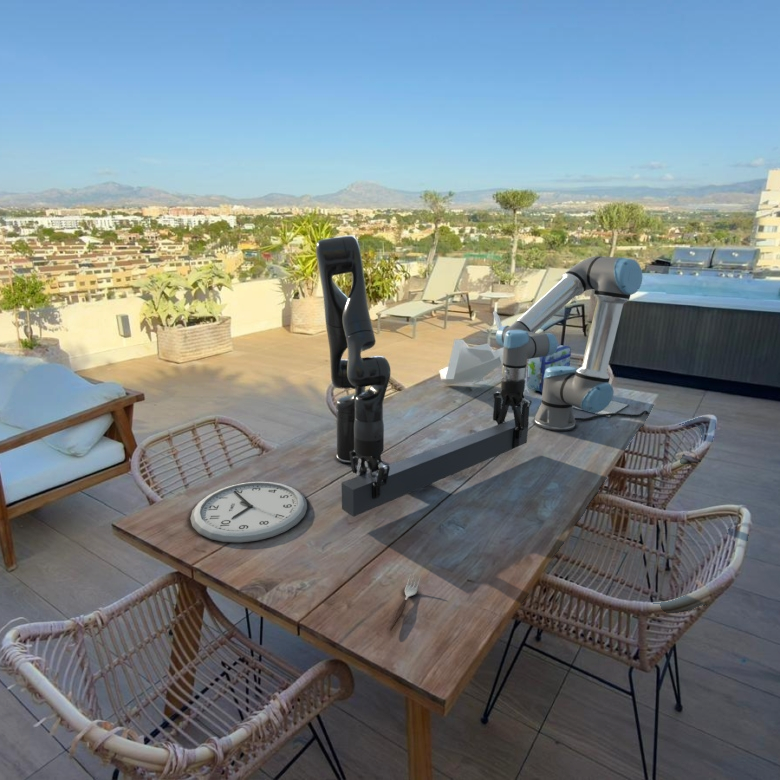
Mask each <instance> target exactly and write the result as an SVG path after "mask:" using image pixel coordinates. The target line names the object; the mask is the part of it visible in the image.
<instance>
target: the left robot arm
mask: <svg viewBox="0 0 780 780" xmlns="http://www.w3.org/2000/svg"><path fill="white" fill-rule="evenodd" d="M315 245H316V246H315V255H316V264H317V269H318V273H319V279H320V285H321V291H322V297H323V307H324V308H323V309H324V319H325V327H326V333H327V334H326V335H327V339H328V340H327V341H328V346H329V360H330V363H329V364H330V379H331V384H332V386H333V387H334V388H336V389H339V390H340V389H342V390H343V389H344V390H355V391H353V392H351V393H350V394H347V395H344V396H342V397H340V398H338V399H337V400H336V404H335V405H336V408H335V409H336V460H337V461H338V462H340V463H342V464H350V466H351V472H352V474H355V477H358V476H360V475H363V474H366V473H368V477H369V478H370V479H371V482H372V498H373V499H376V498H379V497H380V487H381V486H383V485H386V484H387V479H388V474H389V469H390V467H389V465H390V464H386V465H385V464H384V463H383V460H382V457H381V456H382V453H383V452H384V447H385V446H384V445H385V444H384V443H385V441H384V440H385V436H384V435H385V425H384V401H385V396H386V392H387V389H388V386H389V383H390V378H391V372H392V371H391V365H390V363H389V360H388V359H387V358H386V357H385V356H382V355H375V356H367V357H366V356H365V357H362V352H365V351H368V350H370V349H371V348H374V346H375V345H376V340H377V339H376V335H375V332H374V327H373V324H372V319H371V315H370V310H369V304H368V295H367V288H366V287H367V286H366V279H365V272H364V265H363V259H362V258H363V257H362V252H361V249H360V245H359V242H358V240H357V238H356V237H355V236H353V235H343V236H342V235H341V236H335V237H329V238H324V239H323V238H322V239H320V240H318V241H317V242H316V244H315ZM344 274H345V275H346V274H351V287H350V291H349V294H348V296H347V295H346V294H345V293H344V292H343V291H342V290H341V288H339V286H338V285H337V284H336V282H335V280H334V278H333V277H334V276H339V275H344ZM346 350H347V359H346V358H345V359H343V358H342V357H343V356H344V353H345V352H346ZM366 387H369V389H368V390H366ZM375 471H377V472H376V473H374V474H372V473H373V472H375ZM375 477H377V481H375Z"/></svg>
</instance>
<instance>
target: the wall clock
mask: <svg viewBox="0 0 780 780" xmlns="http://www.w3.org/2000/svg"><path fill="white" fill-rule="evenodd" d="M307 503H308V502H307V499H306V498H305V496H304V495H303V493H301V492H300V491H298V490H297V489H295V488H294V487H291V486H289V485H286V484H283V483H280V482H279V483H278V482H272V481H249V482H248V481H247V482H242V483H238V484H232V485H229V486H226V487H223V488H220V489H218V490H216V491H213V492H211V493H210V494H208V495H207V496H205V497H204V498H202V499H201V500H200V501H199V502H198V503H197V504H196V505H195V507H194V508H193V509H192V511H191V515H190V523H191V526H192V528H193V529H194V531H196V532H197V533H198V534H199V535H201V536H203V537H205V538H208V539H210V540H214V541H218V542H222V543H239V544H240V543H249V542H256V541H262V540H265V539H269V538H274V537H276V536H278V535H280V534H282V533H286V532H287V531H289V530H290V529H292V528H293V527H295V526H296V525H298V524H299V523H300V522H301V521H302V519H303V518H304V517H305V516H306V513H307V510H308V504H307Z"/></svg>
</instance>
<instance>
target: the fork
mask: <svg viewBox="0 0 780 780" xmlns="http://www.w3.org/2000/svg"><path fill="white" fill-rule="evenodd" d="M421 576H422V575H421V574H420V575H419V578H418V576H416V577H415V574H413V577H412V573H410V574H409V578H408V579H407V580H408V581H407V582H406V586H405V588H404V594H405V598H404V600H403V601H402V602H401V604H400V605H399V607H398V608H397V610H396V612H395V614H394V615H395V616H394V618H393V621H392V623H391V627H390V629H389V631H390V632H391V631H392V630H393V628H394V627H395V625H396V624H397V622H398V621H399V619H400V618H401V616H402V615H403V613H404V610H405V608H406V605H407V601H408V599H409V598H410V597H413V596H415V595H417V592H418V590H419V585H420V580H421ZM411 577H412V579H411ZM414 577H415V580H414ZM417 579H418V581H417ZM416 584H417V585H416Z"/></svg>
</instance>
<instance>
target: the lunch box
mask: <svg viewBox="0 0 780 780" xmlns="http://www.w3.org/2000/svg"><path fill="white" fill-rule="evenodd" d="M571 350H572V349H571V347H570V346H569V345H561V344H558V346H557V350H556V352H555V353H554V354H552V355H549V356H546V357H538V358H531V359H527V369H526V384H527V387H528V390H531V391H537V392H540V393H541V394H542V390H543V379H544V374H545V370H546V369H547V368H549V367H555V366H569V367H571V356H572V351H571Z"/></svg>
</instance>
